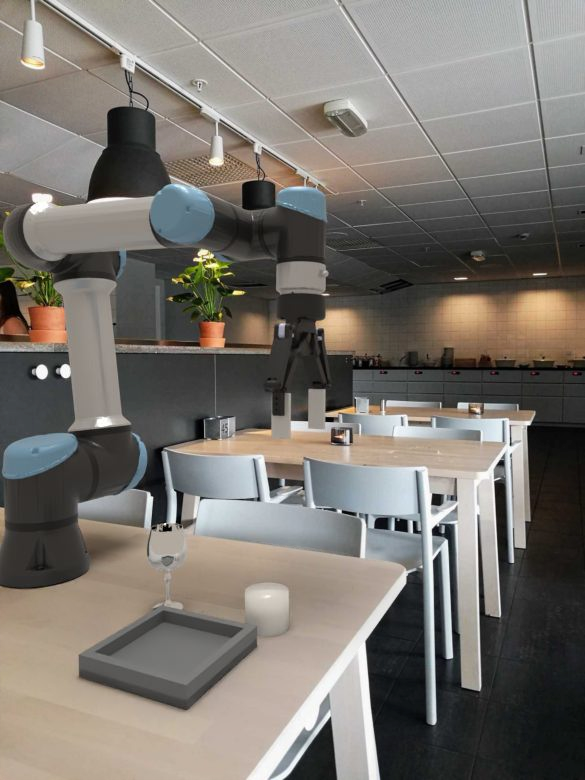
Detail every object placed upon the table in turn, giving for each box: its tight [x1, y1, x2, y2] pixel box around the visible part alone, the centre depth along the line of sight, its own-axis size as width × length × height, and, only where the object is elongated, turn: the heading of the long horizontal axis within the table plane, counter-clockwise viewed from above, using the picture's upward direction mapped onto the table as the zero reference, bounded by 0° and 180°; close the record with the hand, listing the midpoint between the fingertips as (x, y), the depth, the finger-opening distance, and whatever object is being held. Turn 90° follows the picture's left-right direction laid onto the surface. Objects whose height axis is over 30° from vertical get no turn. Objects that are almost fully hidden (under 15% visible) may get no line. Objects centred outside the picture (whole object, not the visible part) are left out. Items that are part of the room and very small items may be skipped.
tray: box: [78, 605, 258, 710], centre depth 70 cm, size 15×15×3 cm
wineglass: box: [146, 522, 188, 611], centre depth 85 cm, size 6×6×12 cm
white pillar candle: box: [244, 582, 290, 638], centre depth 79 cm, size 6×6×5 cm
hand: (300, 433), depth 89 cm, fingers open, 13 cm apart
